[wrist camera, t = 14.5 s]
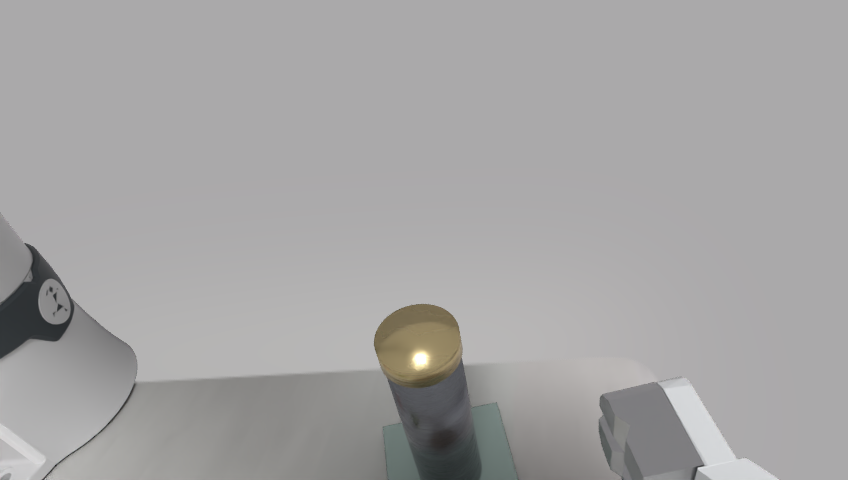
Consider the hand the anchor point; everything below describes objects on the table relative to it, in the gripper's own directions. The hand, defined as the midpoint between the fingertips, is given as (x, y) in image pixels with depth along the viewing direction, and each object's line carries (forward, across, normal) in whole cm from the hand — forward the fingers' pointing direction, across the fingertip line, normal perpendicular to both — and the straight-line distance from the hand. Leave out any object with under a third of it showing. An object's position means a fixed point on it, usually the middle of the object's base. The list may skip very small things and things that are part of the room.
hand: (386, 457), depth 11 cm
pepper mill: (+16, 0, +29) cm, 33 cm away
